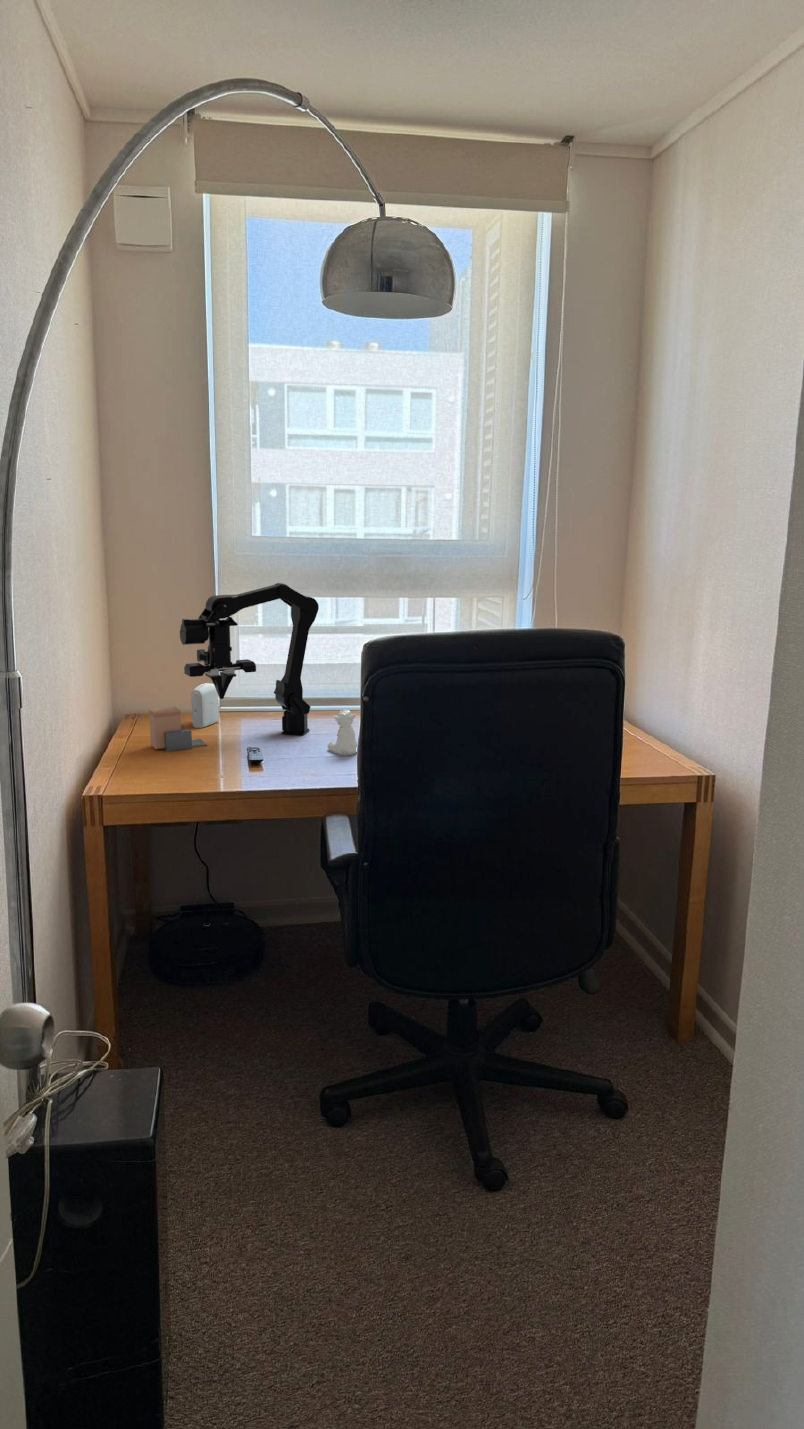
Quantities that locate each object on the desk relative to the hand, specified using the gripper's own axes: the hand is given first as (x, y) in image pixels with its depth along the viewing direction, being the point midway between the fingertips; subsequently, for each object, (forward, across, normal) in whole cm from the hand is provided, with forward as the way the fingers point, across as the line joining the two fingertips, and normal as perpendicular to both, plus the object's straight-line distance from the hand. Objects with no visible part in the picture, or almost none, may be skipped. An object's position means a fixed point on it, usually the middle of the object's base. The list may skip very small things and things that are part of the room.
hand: (221, 698), depth 264 cm
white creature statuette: (+12, -25, +27) cm, 39 cm away
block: (+12, +16, 0) cm, 20 cm away
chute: (+12, +11, 0) cm, 16 cm away
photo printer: (+12, -2, -21) cm, 25 cm away
